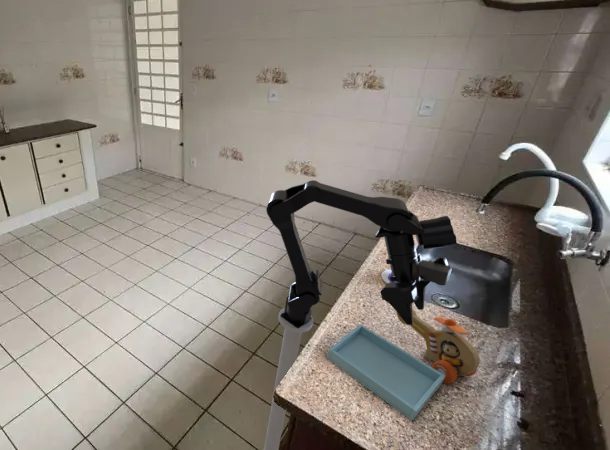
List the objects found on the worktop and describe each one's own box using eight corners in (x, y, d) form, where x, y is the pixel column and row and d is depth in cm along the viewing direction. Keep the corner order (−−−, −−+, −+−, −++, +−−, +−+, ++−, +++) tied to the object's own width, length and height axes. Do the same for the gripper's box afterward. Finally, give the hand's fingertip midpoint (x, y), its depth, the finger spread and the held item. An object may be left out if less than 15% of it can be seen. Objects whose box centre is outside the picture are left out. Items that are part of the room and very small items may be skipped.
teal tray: (326, 357, 89) (328, 349, 87) (357, 332, 96) (360, 323, 95) (412, 420, 74) (416, 411, 72) (441, 384, 81) (445, 375, 80)
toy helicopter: (451, 392, 80) (474, 349, 73) (381, 328, 97) (395, 289, 91) (477, 382, 82) (502, 340, 75) (404, 322, 99) (419, 283, 93)
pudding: (398, 267, 123) (402, 255, 120) (430, 287, 113) (436, 274, 110) (372, 275, 119) (376, 263, 116) (404, 297, 109) (409, 283, 106)
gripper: (432, 262, 69) (448, 337, 70) (452, 240, 81) (465, 304, 82) (373, 264, 77) (388, 331, 78) (399, 243, 90) (412, 302, 90)
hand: (415, 316), depth 82 cm, fingers open, 9 cm apart
